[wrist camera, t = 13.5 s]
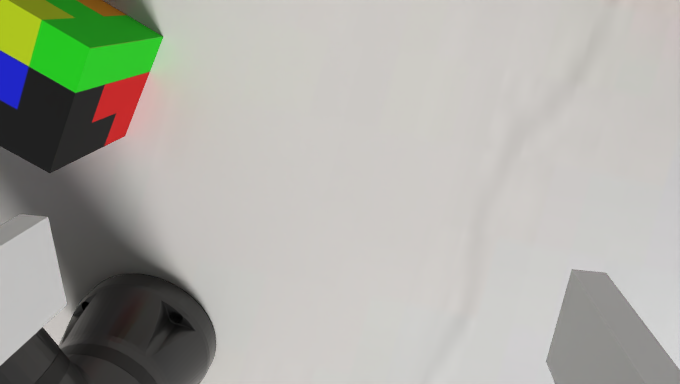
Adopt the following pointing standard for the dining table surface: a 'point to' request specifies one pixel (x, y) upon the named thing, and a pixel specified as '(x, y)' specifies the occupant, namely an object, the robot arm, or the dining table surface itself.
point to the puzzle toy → (69, 77)
